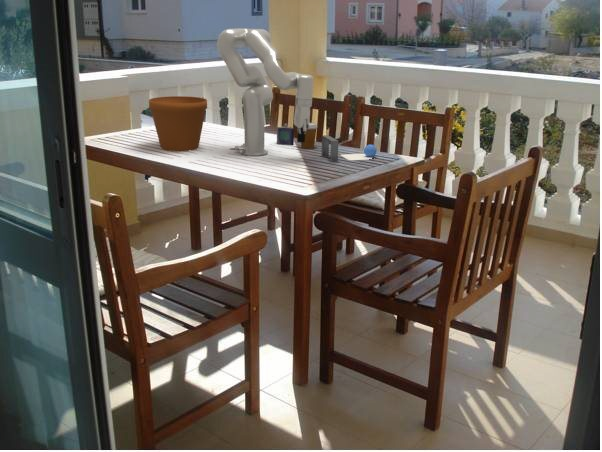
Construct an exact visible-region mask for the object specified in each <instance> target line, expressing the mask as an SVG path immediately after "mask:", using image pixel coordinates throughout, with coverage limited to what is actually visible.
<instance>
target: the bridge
mask: <svg viewBox="0 0 602 452" xmlns="http://www.w3.org/2000/svg"><path fill="white" fill-rule="evenodd" d="M329 150H330V151H329ZM320 151H321V156H322V157H330V158H329V159H330V160H329V161H330V162H331V163H338V161H339V140H338V139H335V138H334V137H332V136H330V135H328V134H324V135H321V150H320Z"/></svg>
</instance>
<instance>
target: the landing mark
mask: <svg viewBox="0 0 602 452" xmlns="http://www.w3.org/2000/svg"><path fill="white" fill-rule="evenodd" d="M339 156H340V157H342V158H344V159H346V160H347V161H349V162H350V161H353V162H354V161H370V160H369V159H372V158H373V157H368V156H366V155H365V153H347V154H339Z"/></svg>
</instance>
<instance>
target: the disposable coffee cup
mask: <svg viewBox="0 0 602 452" xmlns="http://www.w3.org/2000/svg"><path fill="white" fill-rule="evenodd" d="M317 129H318V125H317V123H316V122H310V123H309V128H306V133H305V142H300V144H301V148H302V149H314V148H315V143H316V135H317Z"/></svg>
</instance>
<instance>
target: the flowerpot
mask: <svg viewBox="0 0 602 452" xmlns="http://www.w3.org/2000/svg"><path fill="white" fill-rule="evenodd" d="M148 106H149V108H148V109H149V110H150V112H151V115H152V119H153V124H154V126H155V130H156V134H157V138H158V142H159V146H160V149H161V150H163V151H167V152H189V150H191V151H194V149H195V150H198V149H199V146H200V140H201V135H202V133H203V132H202V130H203V125H204V121H205V115H206V110H208V100H207V99H206V98H204V97H199V96H198V97H196V96H185V95H184V96H181V95H179V96H178V95H177V96H173V95H172V96H160V97H159V96H158V97H153V98H150V99H148ZM197 148H198V149H197Z"/></svg>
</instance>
